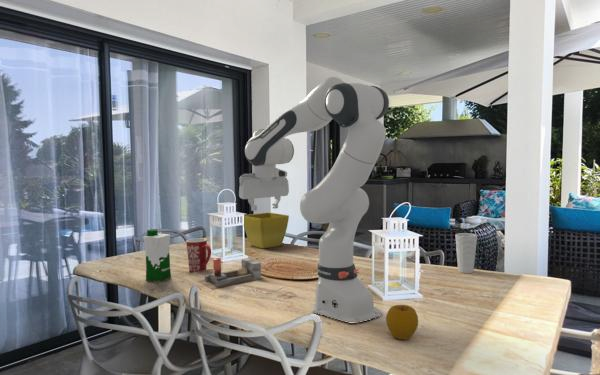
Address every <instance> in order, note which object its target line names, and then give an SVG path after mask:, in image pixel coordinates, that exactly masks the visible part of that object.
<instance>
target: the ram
mask: <svg viewBox="0 0 600 375" xmlns="http://www.w3.org/2000/svg"><path fill="white" fill-rule="evenodd" d="M212 262H213V264H212V265H213V272H209V273H208V275H209V281H210V282H212V283H214V284H215V281H218V280H223V279H227V277H226V275H225V274H222V273H223V272H222V258H221V257H214V258H213V259H212Z"/></svg>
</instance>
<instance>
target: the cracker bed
mask: <svg viewBox="0 0 600 375" xmlns="http://www.w3.org/2000/svg"><path fill="white" fill-rule="evenodd" d="M242 267H244V268H246V269H247V271H248V274H247V275H243V276H239V275H238V270H239V269H234V270H230V271H224V272H221V273H222V274H225V275H226V277H227V279H223V280H218V281H215V284H214V283H212V282H210V281H209V274H208V275H204V279H202V280H201V279H200V280H197V282H198V283H200V284H201V285H203V286H204V287H206V288H208V289H210V290H211V291H215V290H219V289H224V288H228V287H232V286H237V285H242V284H246V283H252V282H255V281H256V282H257V281H261V280H265V278H264V277H262V269H261V268H262V266H261V262H259V261H257V260H254V259H251V258H248V257H247V258H242V259H241V268H242Z"/></svg>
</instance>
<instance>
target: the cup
mask: <svg viewBox="0 0 600 375" xmlns="http://www.w3.org/2000/svg"><path fill="white" fill-rule="evenodd" d="M477 241H478V235H477V233H476V234H475V233H472V232H471V233H469V232H458V233H455V249H456V260H457V271H458V273H461V274H473V273H474V271H475V260H476V251H477V243H478V242H477Z"/></svg>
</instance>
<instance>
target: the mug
mask: <svg viewBox="0 0 600 375" xmlns="http://www.w3.org/2000/svg"><path fill="white" fill-rule="evenodd" d="M207 241H208V239H207V238H202V237H200V238H190V239H189V238H188V239H186V240H185V243H186V249H187V250H186V252H187V253H186V254H187V262H188V270H189V272H190V273H196V272H198V273H199V272H204V271H207V265H208V262H210V259H211V256H212V249H211V246H210V245H209V244H207Z"/></svg>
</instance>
